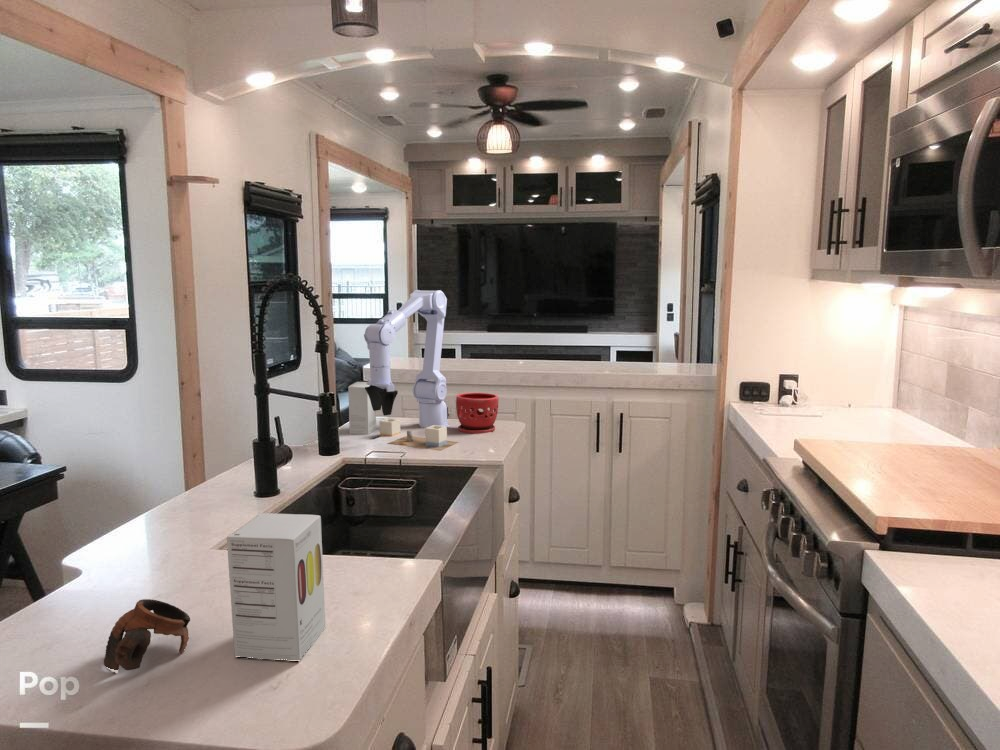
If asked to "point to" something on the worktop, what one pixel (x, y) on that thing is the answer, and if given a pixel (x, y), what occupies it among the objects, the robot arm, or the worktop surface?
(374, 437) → the mat
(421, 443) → the pin board
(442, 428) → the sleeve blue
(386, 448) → the worktop surface
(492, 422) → the plant pot
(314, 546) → the supplement box
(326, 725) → the worktop surface
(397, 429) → the cream square sleeve
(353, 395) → the skincare box
